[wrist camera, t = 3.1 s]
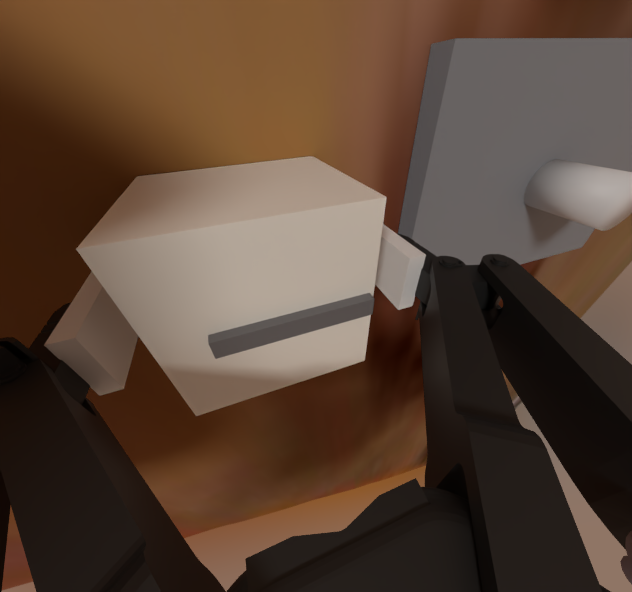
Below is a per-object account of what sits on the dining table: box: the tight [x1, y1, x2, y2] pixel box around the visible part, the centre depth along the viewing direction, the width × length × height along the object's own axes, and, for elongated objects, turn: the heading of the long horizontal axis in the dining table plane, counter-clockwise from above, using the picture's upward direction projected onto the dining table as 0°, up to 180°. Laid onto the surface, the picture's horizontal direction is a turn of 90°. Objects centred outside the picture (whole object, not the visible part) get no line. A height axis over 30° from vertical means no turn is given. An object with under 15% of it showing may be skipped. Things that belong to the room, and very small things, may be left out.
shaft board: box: [398, 38, 632, 265], centre depth 16 cm, size 20×14×6 cm
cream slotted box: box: [76, 156, 386, 416], centre depth 12 cm, size 8×8×7 cm
